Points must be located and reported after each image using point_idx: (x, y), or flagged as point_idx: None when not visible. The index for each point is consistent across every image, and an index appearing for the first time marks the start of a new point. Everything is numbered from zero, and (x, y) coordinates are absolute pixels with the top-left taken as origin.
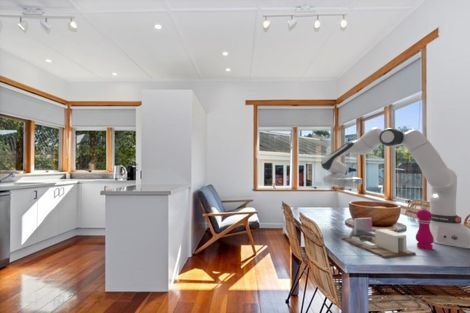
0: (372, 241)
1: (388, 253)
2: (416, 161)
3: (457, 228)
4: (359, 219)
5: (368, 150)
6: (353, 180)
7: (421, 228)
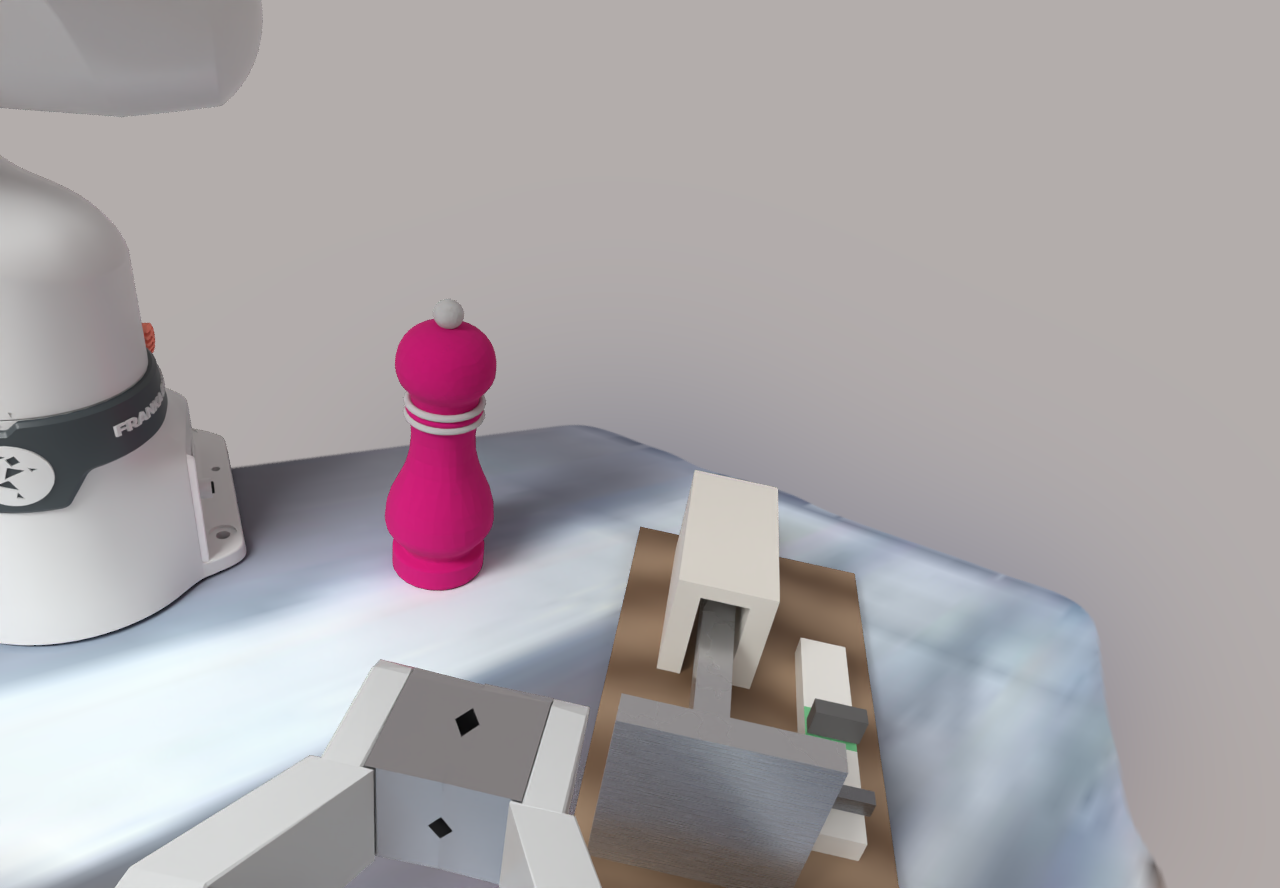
0: None
1: (801, 578)
2: None
3: (168, 393)
4: (793, 738)
5: None
6: (389, 752)
7: (475, 453)
